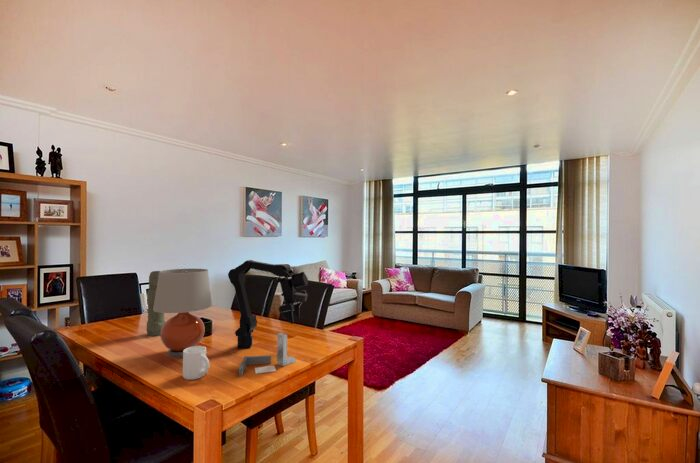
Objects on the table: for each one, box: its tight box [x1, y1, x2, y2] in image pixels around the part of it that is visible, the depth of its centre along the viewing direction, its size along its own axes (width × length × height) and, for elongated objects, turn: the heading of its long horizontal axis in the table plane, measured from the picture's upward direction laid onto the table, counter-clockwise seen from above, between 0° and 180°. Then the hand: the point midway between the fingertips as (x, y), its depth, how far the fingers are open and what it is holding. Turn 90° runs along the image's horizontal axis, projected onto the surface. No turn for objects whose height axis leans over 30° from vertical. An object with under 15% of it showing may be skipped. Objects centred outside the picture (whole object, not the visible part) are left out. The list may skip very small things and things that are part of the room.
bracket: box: [276, 332, 297, 367], centre depth 144 cm, size 7×4×13 cm, turn 140°
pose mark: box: [254, 365, 277, 375], centre depth 136 cm, size 8×6×1 cm
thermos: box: [146, 270, 166, 338], centre depth 183 cm, size 9×12×35 cm
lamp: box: [153, 268, 213, 359], centre depth 155 cm, size 25×25×39 cm
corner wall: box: [238, 354, 272, 377], centre depth 137 cm, size 11×13×3 cm
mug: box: [182, 345, 210, 381], centre depth 129 cm, size 12×8×10 cm
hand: (295, 320), depth 160 cm, fingers open, 9 cm apart
